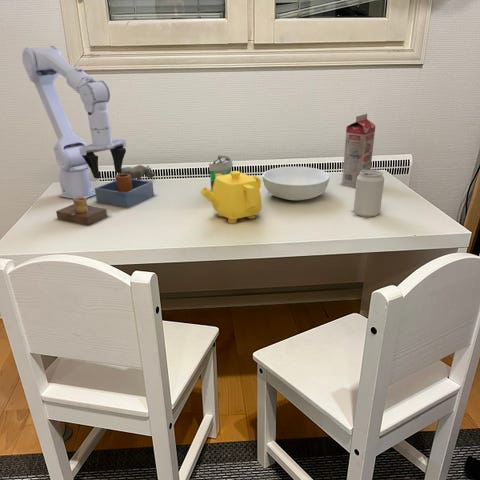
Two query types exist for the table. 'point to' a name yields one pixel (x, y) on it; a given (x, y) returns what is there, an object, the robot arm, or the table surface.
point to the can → (368, 193)
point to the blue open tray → (124, 193)
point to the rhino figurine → (138, 172)
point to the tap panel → (82, 215)
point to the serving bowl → (295, 182)
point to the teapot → (235, 195)
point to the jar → (123, 182)
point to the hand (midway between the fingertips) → (107, 175)
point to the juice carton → (357, 149)
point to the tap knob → (80, 205)
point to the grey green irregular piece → (220, 168)
